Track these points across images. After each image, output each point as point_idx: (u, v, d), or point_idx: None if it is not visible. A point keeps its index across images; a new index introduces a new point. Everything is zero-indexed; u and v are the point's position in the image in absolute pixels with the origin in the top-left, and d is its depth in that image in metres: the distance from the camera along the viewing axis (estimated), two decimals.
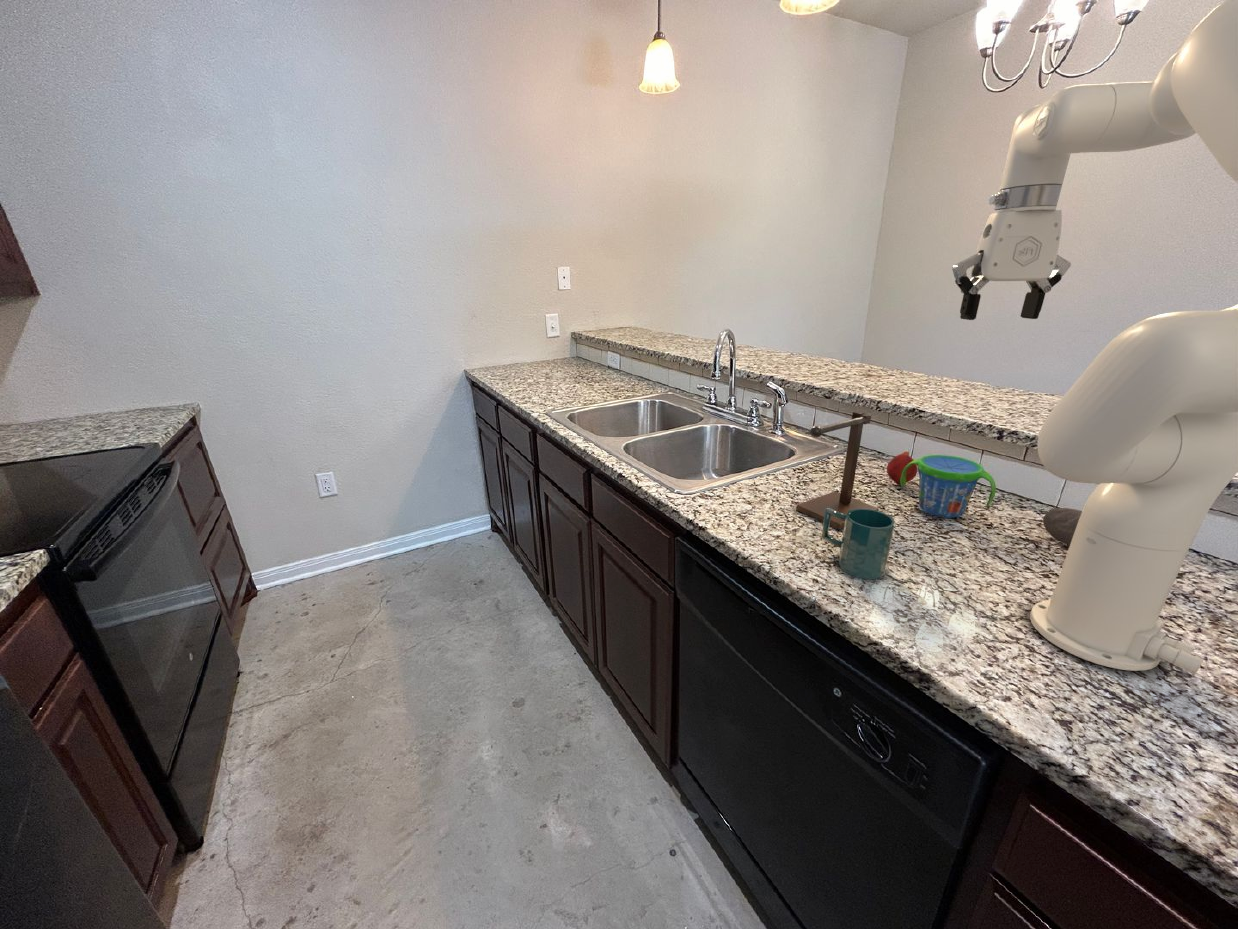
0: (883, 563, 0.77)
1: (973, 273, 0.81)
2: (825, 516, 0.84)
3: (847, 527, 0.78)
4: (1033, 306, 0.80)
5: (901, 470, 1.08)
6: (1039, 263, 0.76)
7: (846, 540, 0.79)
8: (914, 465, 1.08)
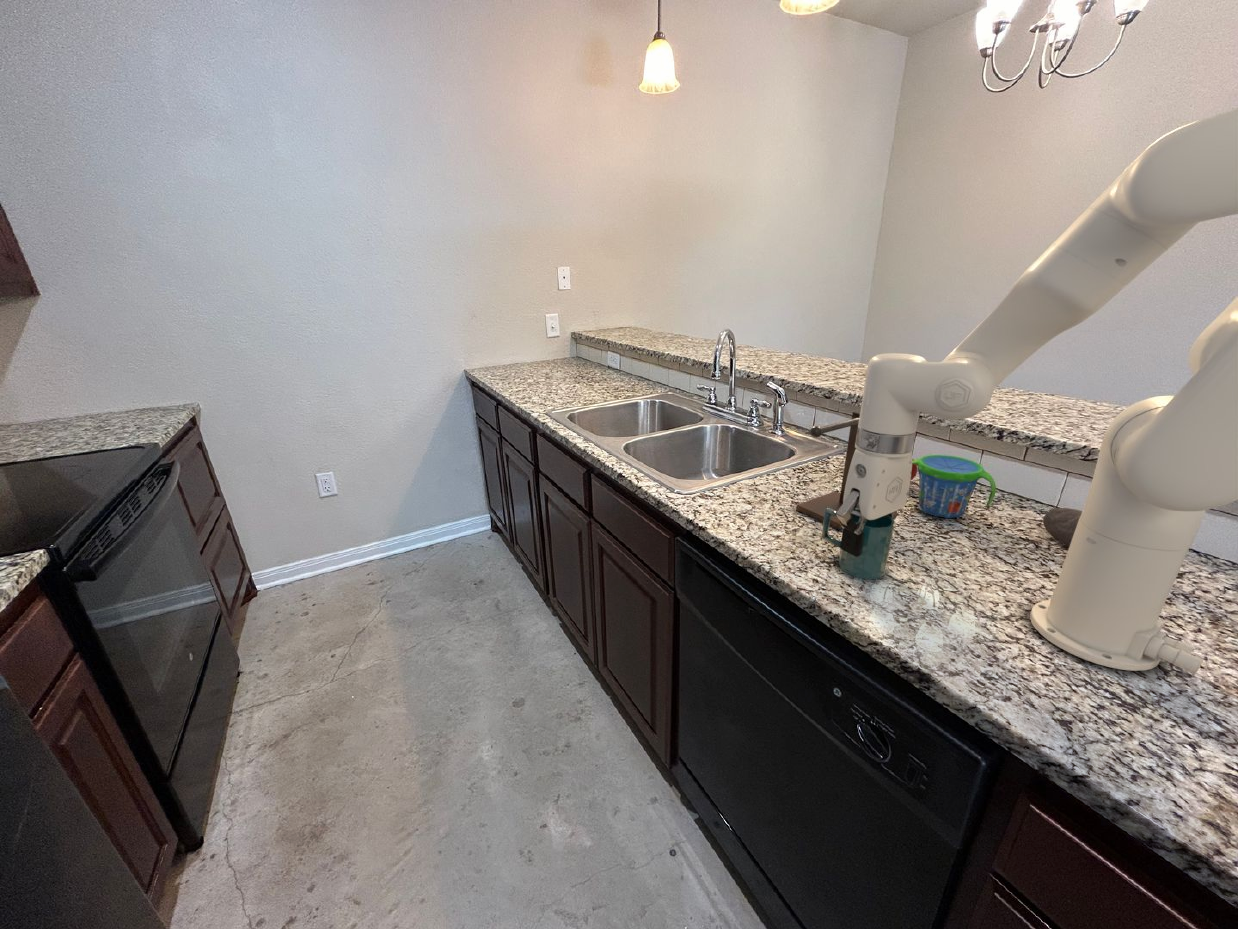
0: (883, 563, 0.77)
1: None
2: (825, 516, 0.84)
3: None
4: None
5: None
6: (900, 497, 0.75)
7: None
8: (914, 465, 1.08)
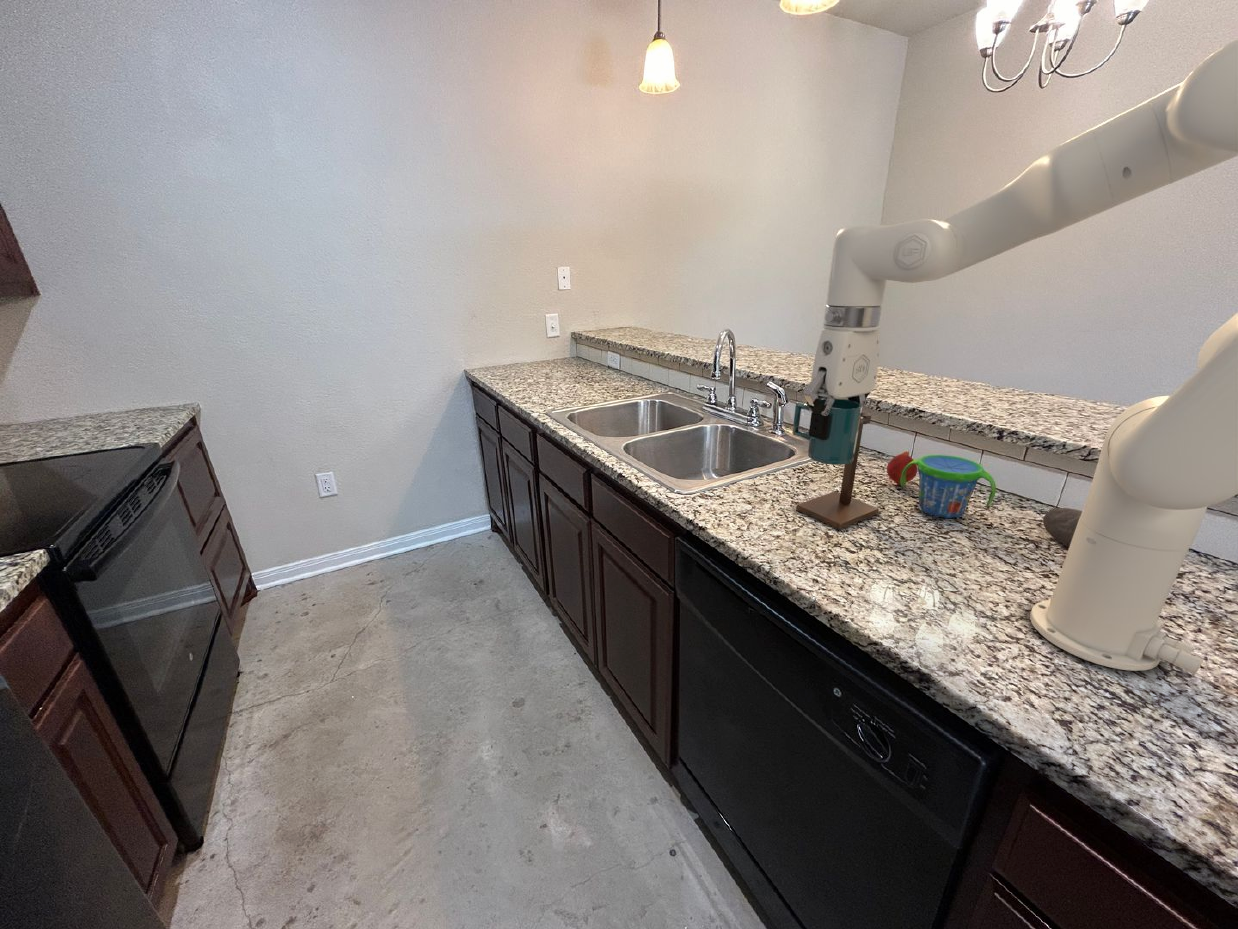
0: (850, 448, 0.77)
1: None
2: (795, 410, 0.84)
3: None
4: None
5: (901, 470, 1.08)
6: (868, 378, 0.75)
7: None
8: (914, 465, 1.08)
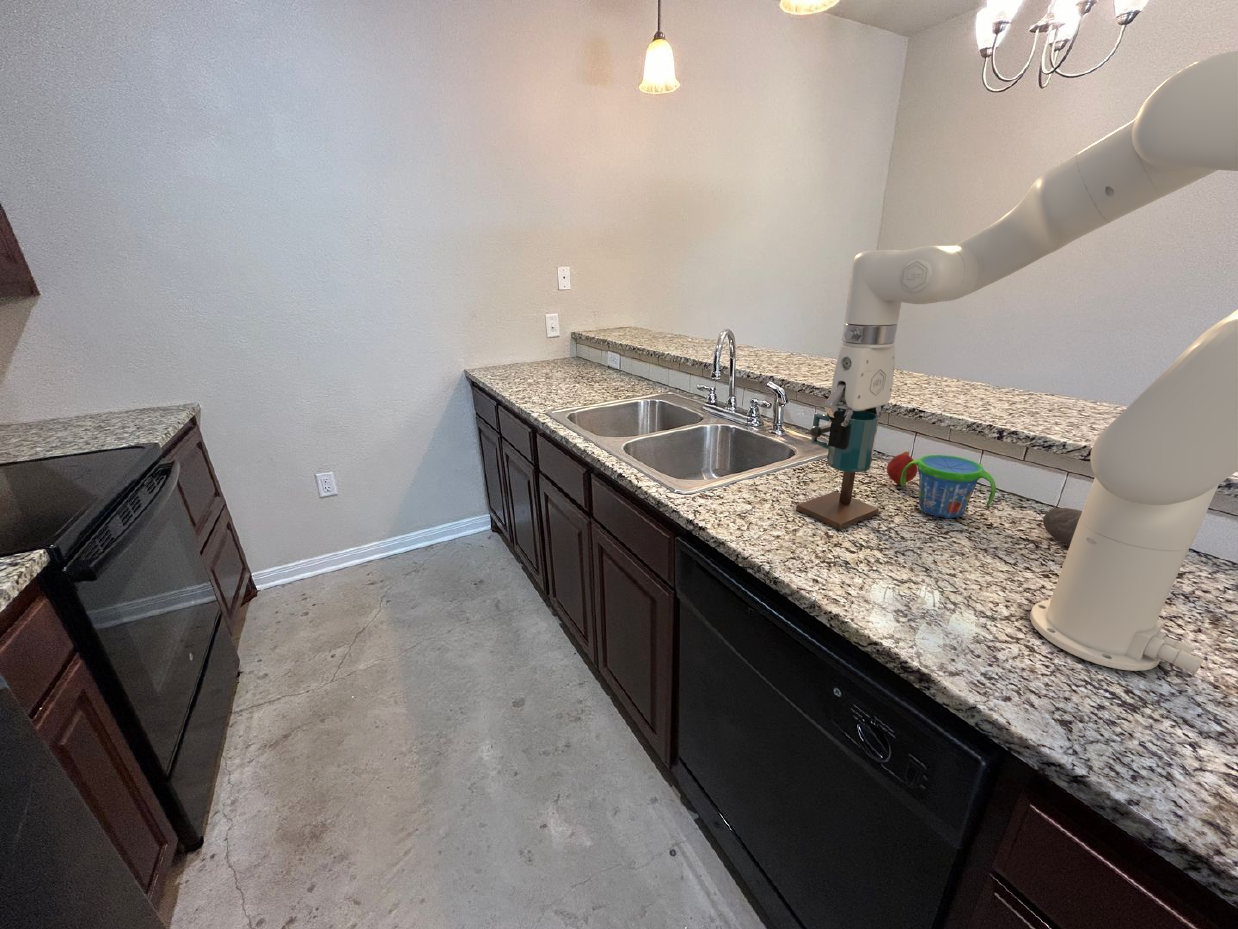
0: (868, 456, 0.82)
1: None
2: (814, 421, 0.89)
3: None
4: None
5: (901, 470, 1.08)
6: (884, 391, 0.80)
7: None
8: (914, 465, 1.08)
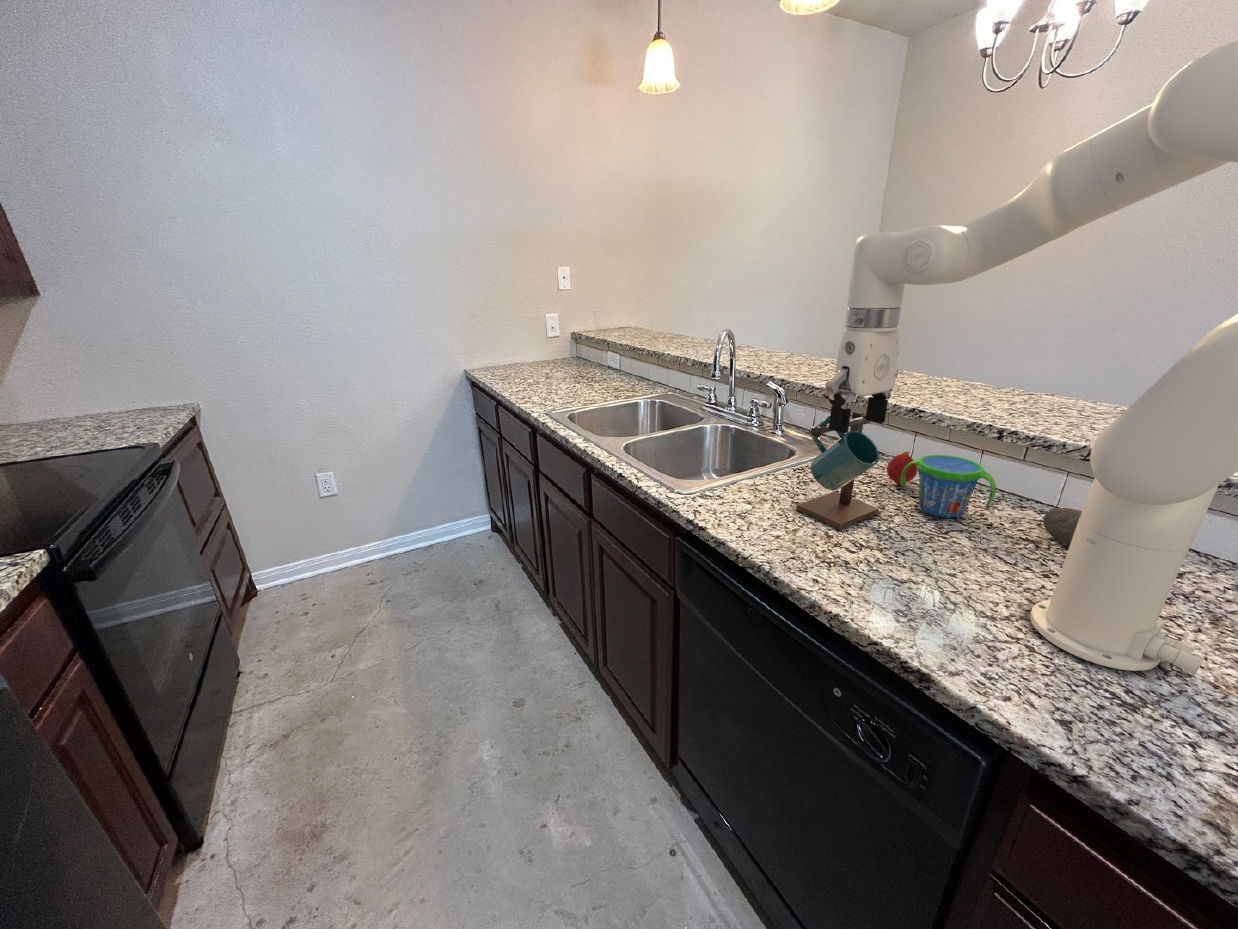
0: (846, 483, 0.87)
1: None
2: (825, 421, 0.88)
3: (839, 447, 0.83)
4: (880, 412, 0.84)
5: (901, 470, 1.08)
6: (889, 376, 0.79)
7: (831, 455, 0.85)
8: (914, 465, 1.08)
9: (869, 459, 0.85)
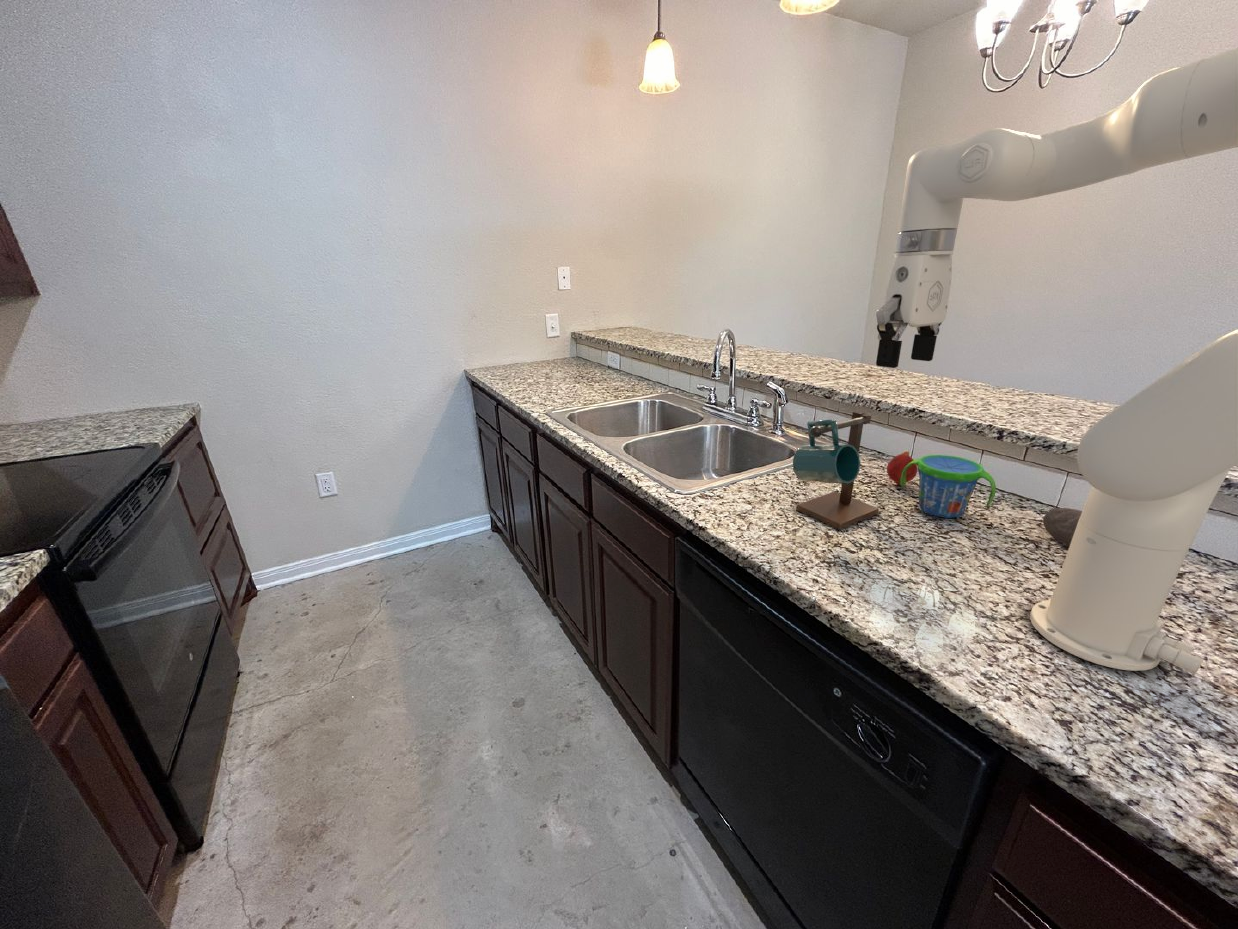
0: None
1: None
2: (827, 422, 0.87)
3: (827, 458, 0.86)
4: (927, 349, 0.79)
5: (901, 470, 1.08)
6: (940, 307, 0.75)
7: (817, 459, 0.87)
8: (914, 465, 1.08)
9: (848, 470, 0.89)
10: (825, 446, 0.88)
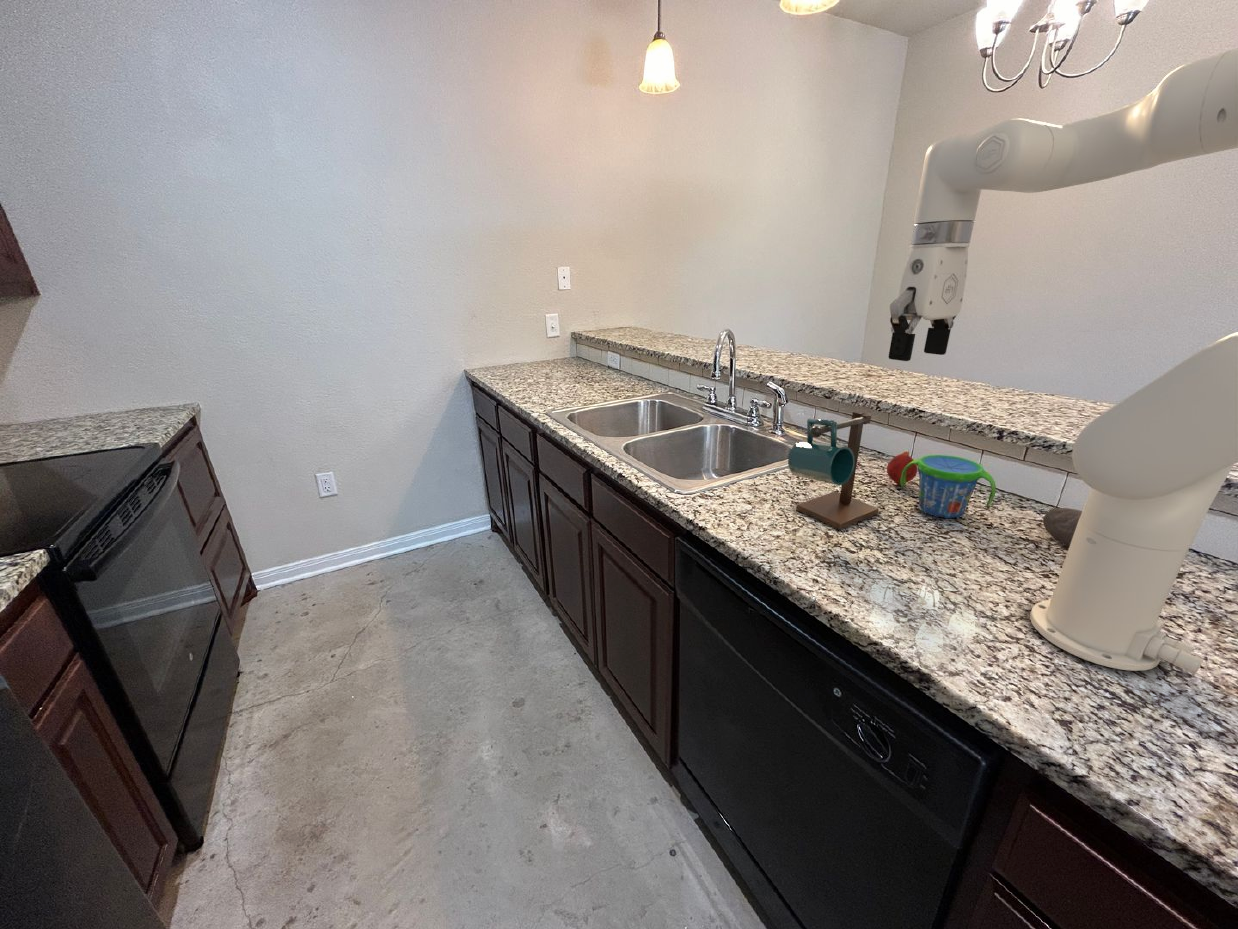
0: None
1: None
2: (827, 423, 0.87)
3: (823, 459, 0.86)
4: (941, 342, 0.79)
5: (901, 470, 1.08)
6: (955, 300, 0.74)
7: (813, 458, 0.88)
8: (914, 465, 1.08)
9: (841, 470, 0.90)
10: (822, 446, 0.89)
